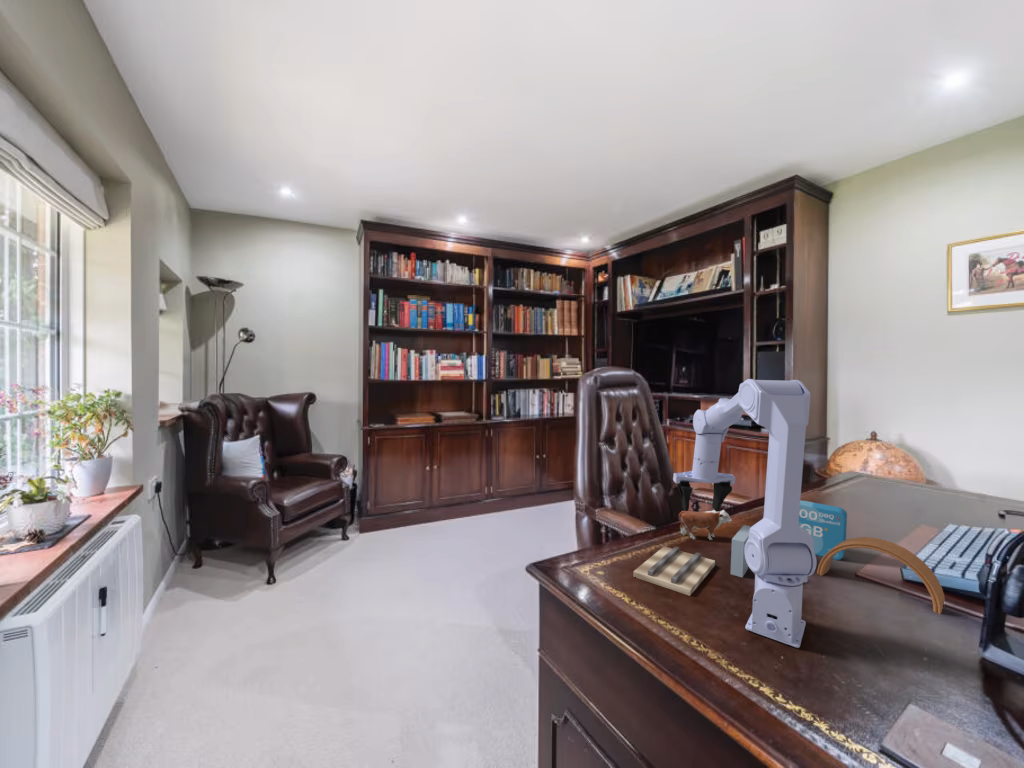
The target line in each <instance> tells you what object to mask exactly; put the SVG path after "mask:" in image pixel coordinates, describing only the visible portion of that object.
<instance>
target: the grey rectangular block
mask: <svg viewBox="0 0 1024 768" xmlns="http://www.w3.org/2000/svg"><path fill="white" fill-rule="evenodd" d="M751 527H752V526H750V525H746V524H743V525H742V526H741V528H740V529H739V530H738V531H737V532H736V534H735V535H734V536H733V537H732V538H731V546H730V547H731V555H730V575H731V576H735V577H736V576H737V577H739V578H743V577H744V576H745V574H746V573H747V571H748V570H749V568H748V564H747V562H746V559H745V553H744V549H745V544H746V542H747V540H748V537H749V530H750V528H751Z"/></svg>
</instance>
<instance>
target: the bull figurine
mask: <svg viewBox="0 0 1024 768" xmlns="http://www.w3.org/2000/svg"><path fill="white" fill-rule="evenodd" d="M678 521H679V522H680V525H679V529H680V534H681V535H682V536H686V534H689V537H690V539H692V540H694V541H695V540H697V538H696V536H695V535H694V534H693V533H692V528H695V530H696V531H699V529H707V530H708V535H707V540H708V539H709V541H713V537H714V538H716V536H715V534H714V531H715V530H717V529H718V528H719V527H720V526H722V524H726V523H728V524H731V523H733V520H732V518H731V517H730V514H729V513H728V512H727V511H726V510H725V509H722V510H719V512H716V511H715V510H714V509H713V510H709V511H708V510H707V511H690V510H688V511H685V510H681V512H679V513H678ZM711 536H712V537H711Z"/></svg>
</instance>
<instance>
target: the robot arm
mask: <svg viewBox="0 0 1024 768" xmlns="http://www.w3.org/2000/svg"><path fill="white" fill-rule="evenodd" d="M738 387H739V388H738V392H737V393H736V394H734V395H733V397H731V398H727V397H720V398H719V399H718V401H717V402H716V403H714V404H713V405H711V406H710V407H709V408H708V409H706V410H703V409H697V410H696V411H695V412H694V414H693V416H692V417H693V418H692V426H693V429H694V431H695V440H694V441H695V443H694V449H693V451H694V452H693V461H692V469H691V470H689V471H683V472H674V473H673V477H672V480H673V482H674V483H675V484H676V486H677V488H678V491H679V495H680V499H681V507H682V509H683V511H690V510H689V508H690V499H691V495H692V492H693V487H691V484H692V483H694V484H695V483H697V484H699V483H700V484H703V483H704V484H713V496H712V509H713V510H715V511H716V512H719V511H720V509H721V507H722V505H723V503H724V501H725V500H726V498H727V497H728V495H730V493H732V491H733V487H732V485H736V477H735V475H734V474H732V473H721V472H719V464H720V457H721V447H722V443H723V442H724V441H725V439H726V438H725V437H726V435H727V434H728V431H729V427H730V426H732V425H734V424H736V423H737V422H739V421H740V420H741V418H742V416H743V413H746V414H747V415H748V417H750V418H751V419H752V421H754V422H755V423H756V425H758V426H761V427H763V428H765V429H766V431H767V432H768V435H769V436H768V449H767V450H768V451H767V463H766V464H767V465H766V476H765V478H766V479H765V490H764V491H765V492H764V493H765V495H764V507H763V517H762V519H760V520H759V521H757V522H756V523H755V524H753V525H752V526H751V528H750V530H749V537H748V540H747V542H746V544H745V549H744V553H745V559H746V562H747V564H748V566H749V568H748V569H750V570H751V572H753V574H754V593H753V598H752V611H751V614H750V616H749V618H748V620H747V622H746V624H745V629H746V631H748V632H749V631H750V632H752V633H755V634H757V635H760V636H763V637H766V638H769V639H772V640H774V641H777V642H780V643H782V644H785V645H789V646H791V647H794V648H797V649H799V648H800V647H801V643H802V639H803V636H804V633H805V628H806V625H807V624H806V620H804V619H802V614H803V613H802V610H803V587H804V586H803V584H804V583H808V577H811V576H812V575H813V574H815V571H816V569H817V566H818V565H817V563H818V561H817V555H815V552H814V539H813V538H812V536H811V535H810V534H809V533H808V532H807V531H805V530H804V529H803V528H802V527H800V526H799V525H798V524H799V511H800V500H801V495H802V483H803V482H802V481H803V471H804V470H803V469H804V458H805V447H806V446H805V443H806V431H807V430H806V429H807V426H808V425H809V419H810V409H811V408H810V407H811V395H812V394H811V392H810V391H809V390H808V388H807V387H806V385H805V384H804V383H803V382H802V381H801V380H798V379H791V380H783V379H782V380H779V379H777V380H776V379H775V380H773V379H771V380H770V379H768V380H767V379H754V378H748V379H746V380H744V381H743V382H741V383H740V384H739V386H738ZM690 483H691V484H690Z"/></svg>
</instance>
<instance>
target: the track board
mask: <svg viewBox="0 0 1024 768" xmlns="http://www.w3.org/2000/svg"><path fill="white" fill-rule="evenodd" d="M715 566H716V560H714V559H710V558H707V557H703V556H702V553H701V552H695V553H694V554H693V553H689V552H685V551H682V550H680V547H679V546H674V547H673V548H671V547H668V546H662V547H661V548H660V549H659V550H657V552H655V553H654V554H653V555H652V556H650V557H649V558H648V559H647V560H646V561H644V562H643V563H641V565H639V566H638V567H637V568H636V569H634V570H633V575H632V576H633V578H635V577H636V579H639V580H642V581H645V582H647V583H651V584H654V585H656V586H660V587H663V588H665V589H669V590H671V591H674V592H678V593H680V594H683V595H686V596H689V597H691V595H693V593H695V590H697V588H698V587H699V586H700V585H701V584H702V582H703V581H704V579H705V578H706V577H707V576H708V575H709V574H710V573H711V571H712V570H713V568H715Z"/></svg>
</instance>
